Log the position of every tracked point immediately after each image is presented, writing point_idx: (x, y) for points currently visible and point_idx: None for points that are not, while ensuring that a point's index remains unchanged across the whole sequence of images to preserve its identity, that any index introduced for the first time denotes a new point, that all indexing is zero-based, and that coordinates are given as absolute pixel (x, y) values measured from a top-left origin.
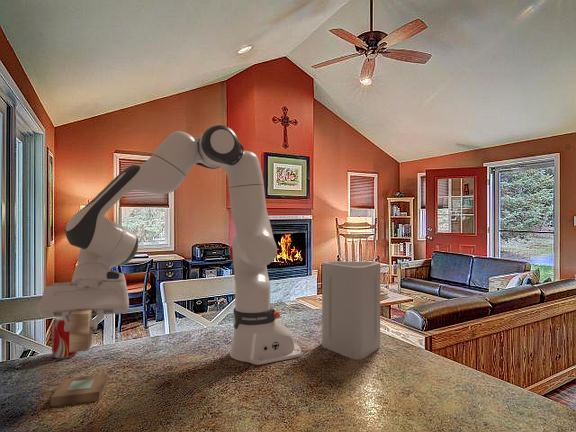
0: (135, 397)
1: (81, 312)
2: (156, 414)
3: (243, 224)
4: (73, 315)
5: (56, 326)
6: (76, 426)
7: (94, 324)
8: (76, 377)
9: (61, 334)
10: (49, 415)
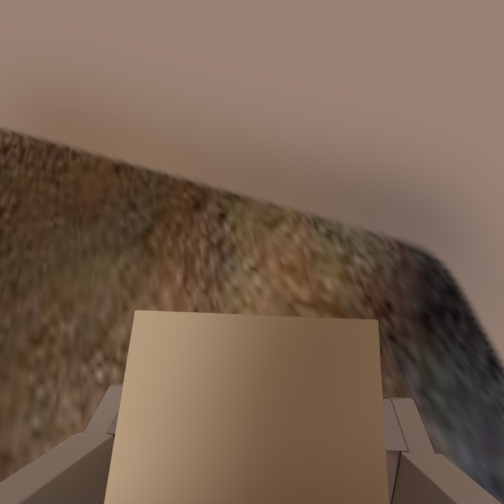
0: (67, 323)
1: (238, 393)
2: (24, 196)
3: None
4: (326, 321)
5: None
6: (234, 197)
7: (121, 392)
8: None
9: None
10: (331, 284)
